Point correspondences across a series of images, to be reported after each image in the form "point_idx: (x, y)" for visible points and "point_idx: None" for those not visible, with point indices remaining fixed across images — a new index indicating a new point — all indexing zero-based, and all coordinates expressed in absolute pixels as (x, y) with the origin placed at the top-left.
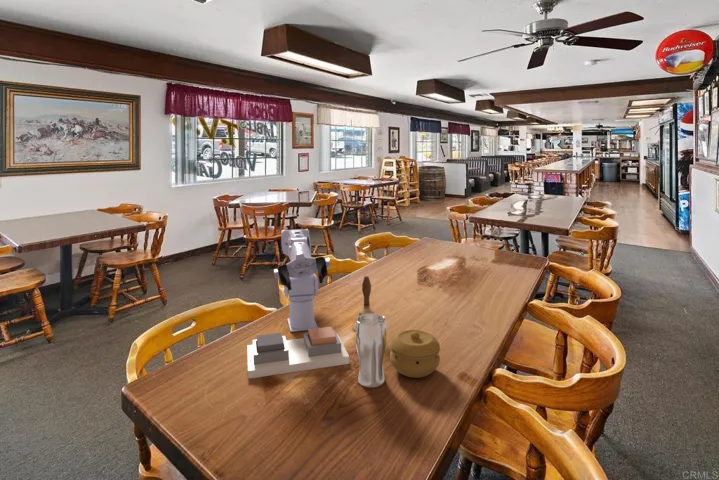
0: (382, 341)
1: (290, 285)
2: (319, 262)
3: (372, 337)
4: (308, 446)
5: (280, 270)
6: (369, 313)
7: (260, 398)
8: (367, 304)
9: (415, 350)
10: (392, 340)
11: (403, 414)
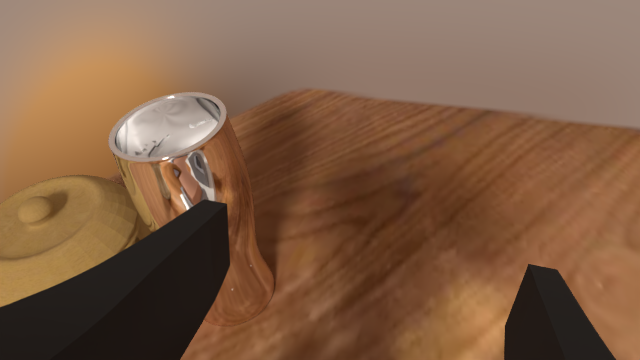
0: (183, 148)
1: (518, 295)
2: (27, 326)
3: (212, 128)
4: (461, 145)
5: None
6: (135, 158)
7: (598, 304)
8: None
9: (101, 178)
10: (99, 248)
11: None
